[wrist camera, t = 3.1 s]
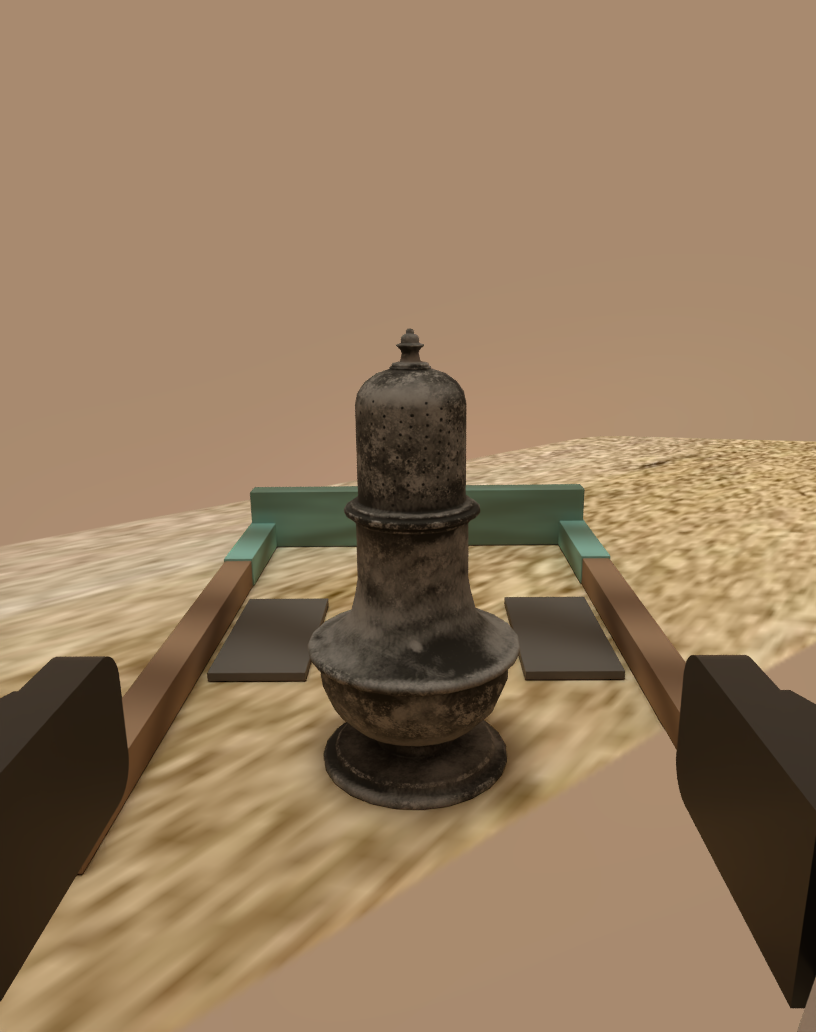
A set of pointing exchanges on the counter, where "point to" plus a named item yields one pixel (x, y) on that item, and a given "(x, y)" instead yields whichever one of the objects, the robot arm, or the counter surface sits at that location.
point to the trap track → (291, 622)
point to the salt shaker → (413, 607)
